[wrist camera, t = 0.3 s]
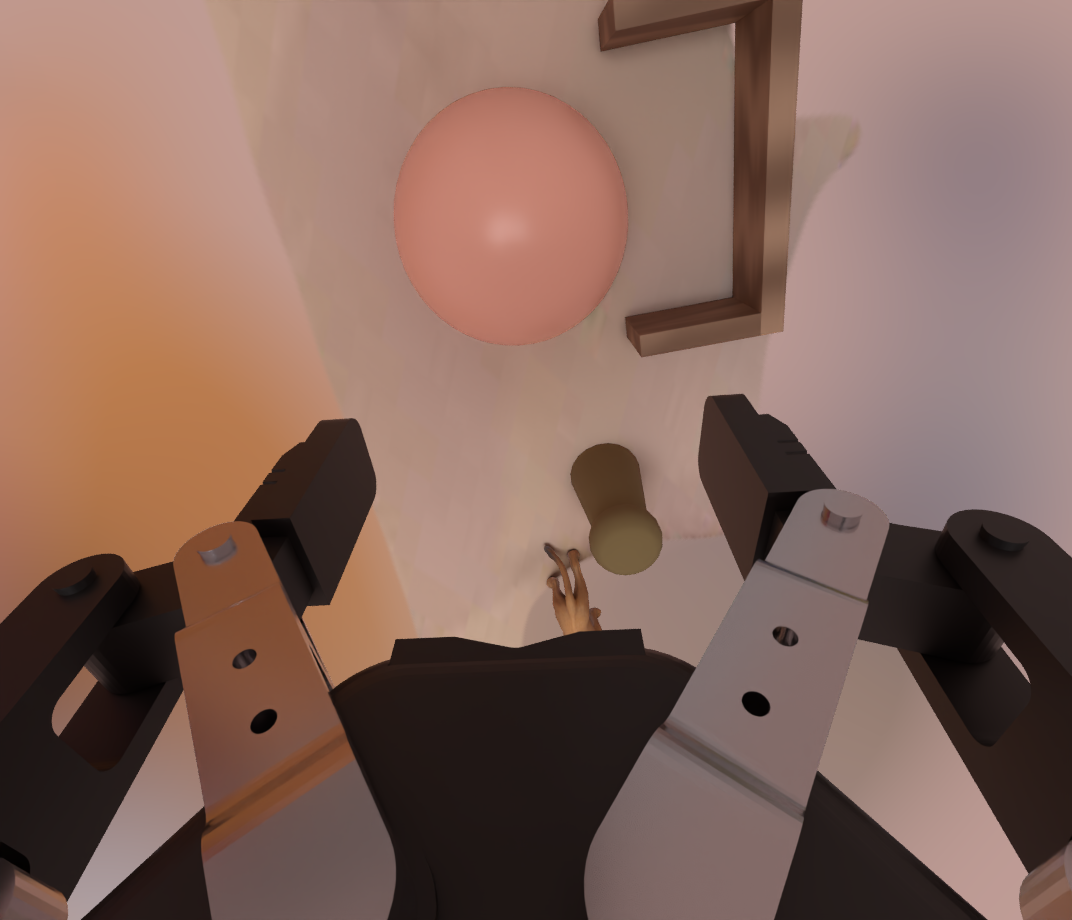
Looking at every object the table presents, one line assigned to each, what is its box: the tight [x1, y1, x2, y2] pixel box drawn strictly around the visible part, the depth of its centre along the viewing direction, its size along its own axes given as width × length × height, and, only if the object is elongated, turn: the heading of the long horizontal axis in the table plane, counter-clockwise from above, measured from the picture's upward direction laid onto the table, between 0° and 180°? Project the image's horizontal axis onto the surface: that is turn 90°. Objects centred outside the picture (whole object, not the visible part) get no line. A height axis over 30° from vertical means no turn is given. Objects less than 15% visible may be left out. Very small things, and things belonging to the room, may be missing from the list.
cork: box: [571, 443, 662, 575], centre depth 40 cm, size 6×6×11 cm
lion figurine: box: [544, 546, 602, 636], centre depth 48 cm, size 15×5×9 cm, turn 26°
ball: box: [394, 87, 628, 345], centre depth 29 cm, size 13×13×13 cm
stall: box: [598, 0, 803, 357], centre depth 32 cm, size 19×10×5 cm, turn 10°
